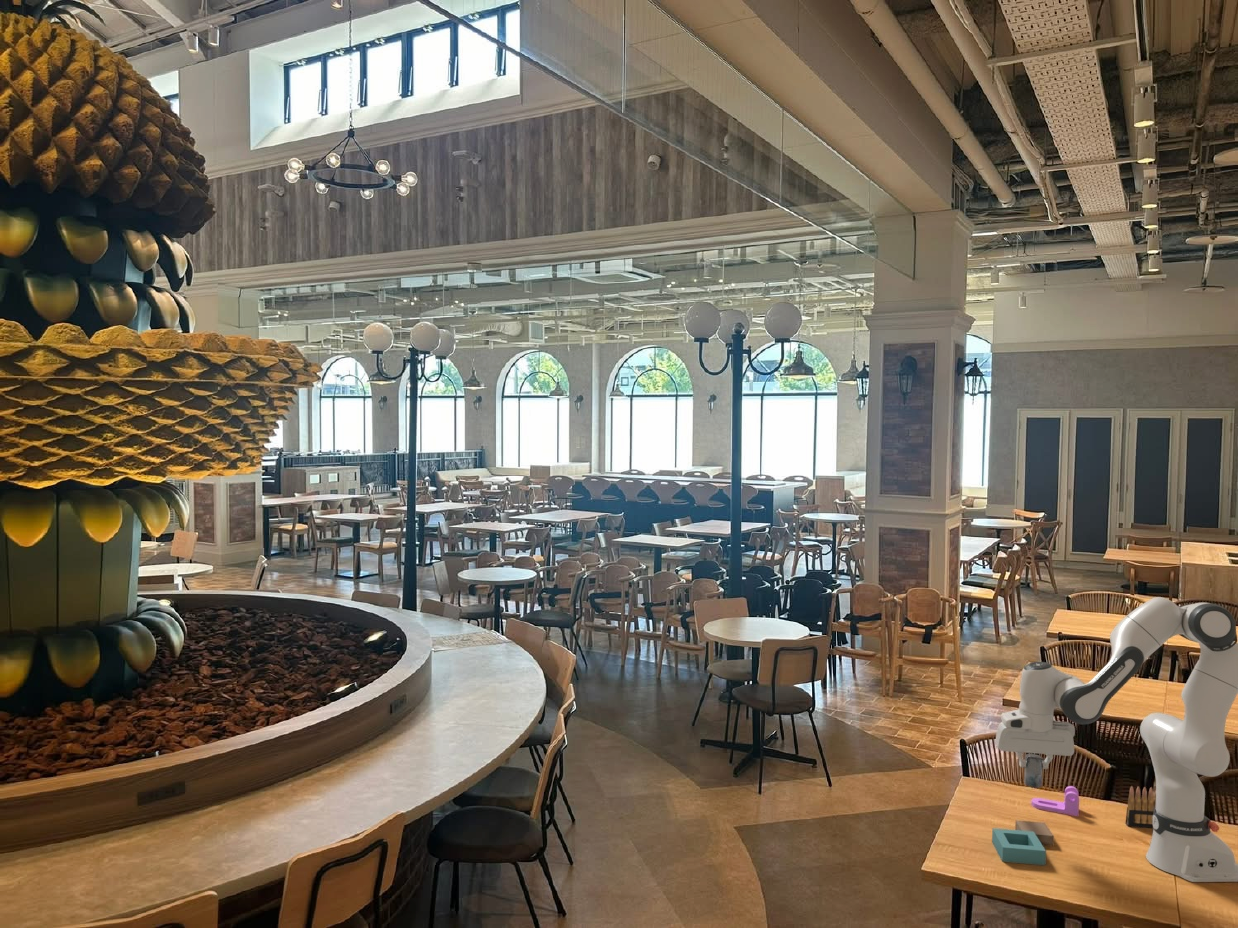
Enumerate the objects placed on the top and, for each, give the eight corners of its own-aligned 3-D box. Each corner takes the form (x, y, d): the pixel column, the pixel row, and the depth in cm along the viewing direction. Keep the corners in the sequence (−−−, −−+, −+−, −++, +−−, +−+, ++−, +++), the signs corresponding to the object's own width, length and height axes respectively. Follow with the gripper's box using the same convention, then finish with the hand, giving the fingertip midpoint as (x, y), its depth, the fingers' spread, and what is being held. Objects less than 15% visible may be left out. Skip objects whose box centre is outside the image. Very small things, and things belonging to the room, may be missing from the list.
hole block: (1033, 845, 248) (1033, 831, 248) (1045, 865, 237) (1045, 850, 237) (991, 841, 250) (992, 828, 250) (1002, 861, 239) (1002, 847, 239)
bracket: (1077, 809, 271) (1078, 787, 271) (1078, 816, 266) (1079, 794, 266) (1031, 800, 277) (1032, 779, 276) (1031, 807, 272) (1031, 786, 271)
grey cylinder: (1038, 781, 252) (1040, 754, 251) (1043, 788, 247) (1044, 760, 247) (1022, 780, 253) (1023, 753, 252) (1026, 786, 248) (1028, 759, 248)
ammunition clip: (1164, 826, 260) (1165, 786, 260) (1166, 829, 258) (1168, 789, 258) (1125, 823, 262) (1127, 784, 261) (1128, 826, 260) (1129, 786, 259)
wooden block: (1044, 832, 256) (1044, 822, 256) (1053, 845, 248) (1053, 835, 248) (1015, 830, 257) (1015, 820, 257) (1023, 843, 249) (1023, 833, 249)
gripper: (1071, 718, 250) (1069, 765, 251) (995, 713, 254) (993, 759, 255) (1078, 726, 244) (1076, 774, 245) (1000, 720, 248) (998, 768, 248)
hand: (1033, 767), depth 250 cm, fingers closed on grey cylinder, 4 cm apart
